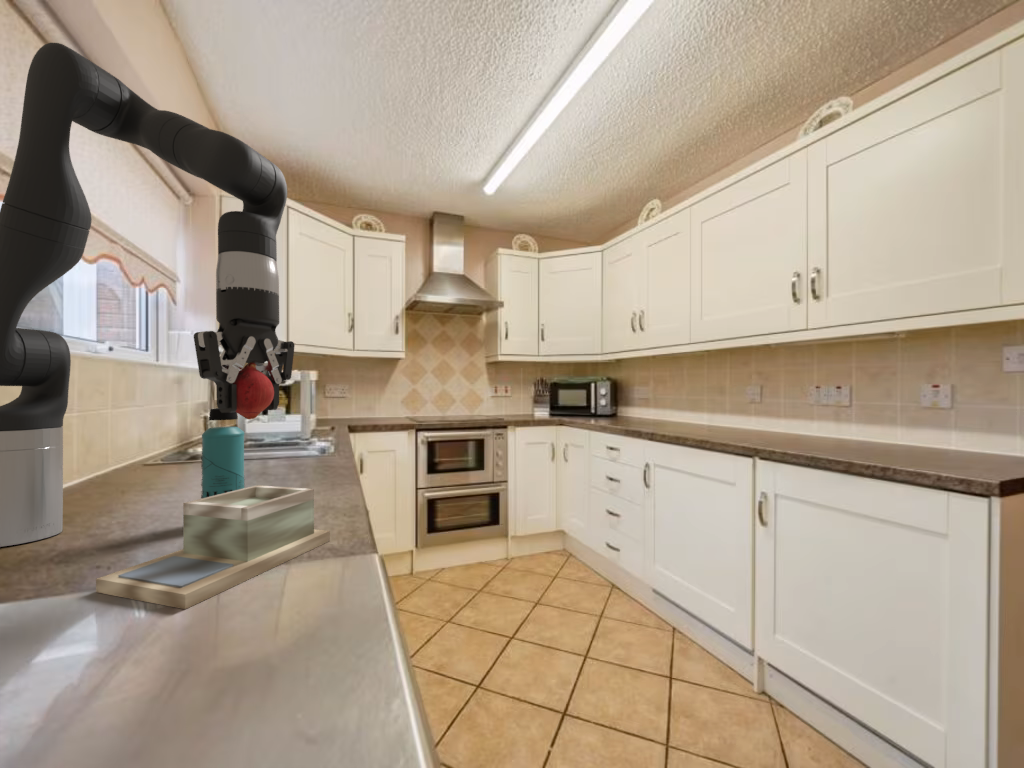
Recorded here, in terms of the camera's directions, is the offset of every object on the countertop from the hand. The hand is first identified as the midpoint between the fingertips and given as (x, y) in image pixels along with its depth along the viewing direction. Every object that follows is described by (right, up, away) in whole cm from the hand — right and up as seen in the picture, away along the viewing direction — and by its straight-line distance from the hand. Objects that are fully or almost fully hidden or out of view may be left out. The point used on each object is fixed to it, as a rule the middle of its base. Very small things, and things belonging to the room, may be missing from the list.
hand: (249, 410), depth 60 cm
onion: (0, -1, 0) cm, 1 cm away
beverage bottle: (-14, -21, +15) cm, 29 cm away
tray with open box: (-1, -20, -3) cm, 20 cm away
